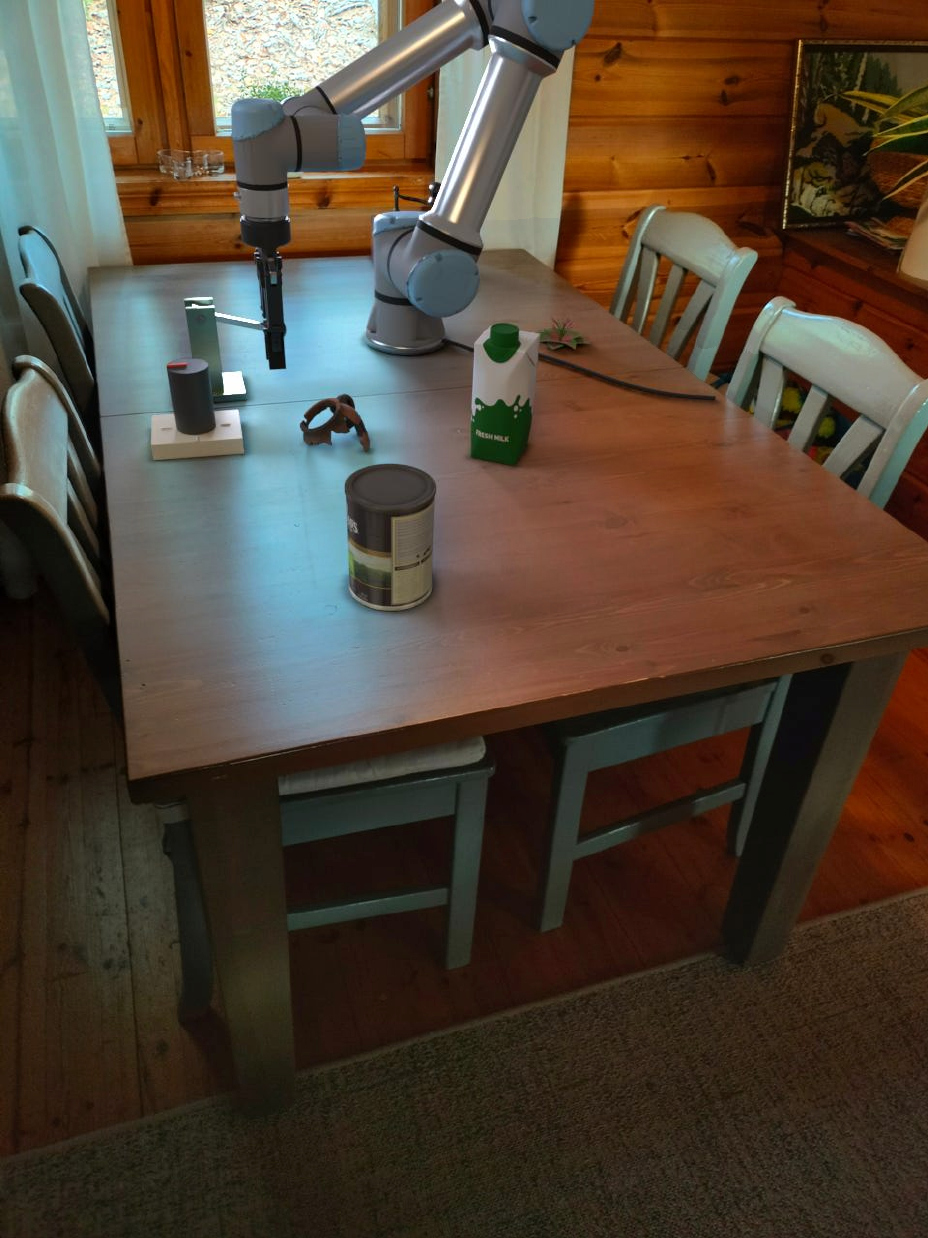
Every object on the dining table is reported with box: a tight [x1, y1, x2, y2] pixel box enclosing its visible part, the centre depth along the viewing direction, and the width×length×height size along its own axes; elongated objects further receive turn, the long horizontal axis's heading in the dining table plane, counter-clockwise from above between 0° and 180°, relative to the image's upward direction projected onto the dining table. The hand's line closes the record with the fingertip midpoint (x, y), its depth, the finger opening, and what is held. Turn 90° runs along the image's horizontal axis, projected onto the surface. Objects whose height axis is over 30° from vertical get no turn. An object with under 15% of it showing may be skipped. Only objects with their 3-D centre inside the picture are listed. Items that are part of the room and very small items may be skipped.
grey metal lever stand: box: [183, 296, 248, 403], centre depth 148 cm, size 11×9×15 cm
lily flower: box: [534, 315, 592, 351], centre depth 176 cm, size 12×12×5 cm
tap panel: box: [150, 409, 245, 461], centre depth 137 cm, size 13×10×3 cm
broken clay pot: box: [299, 393, 371, 453], centre depth 139 cm, size 12×10×8 cm
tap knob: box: [166, 357, 216, 435], centre depth 134 cm, size 6×6×10 cm
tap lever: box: [192, 303, 288, 338], centre depth 147 cm, size 15×4×4 cm, turn 107°
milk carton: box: [470, 322, 540, 467], centre depth 134 cm, size 9×9×20 cm
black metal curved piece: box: [370, 181, 442, 262], centre depth 208 cm, size 16×11×18 cm
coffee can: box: [344, 463, 437, 612], centre depth 106 cm, size 10×10×14 cm
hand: (276, 363), depth 153 cm, fingers closed on tap lever, 4 cm apart
